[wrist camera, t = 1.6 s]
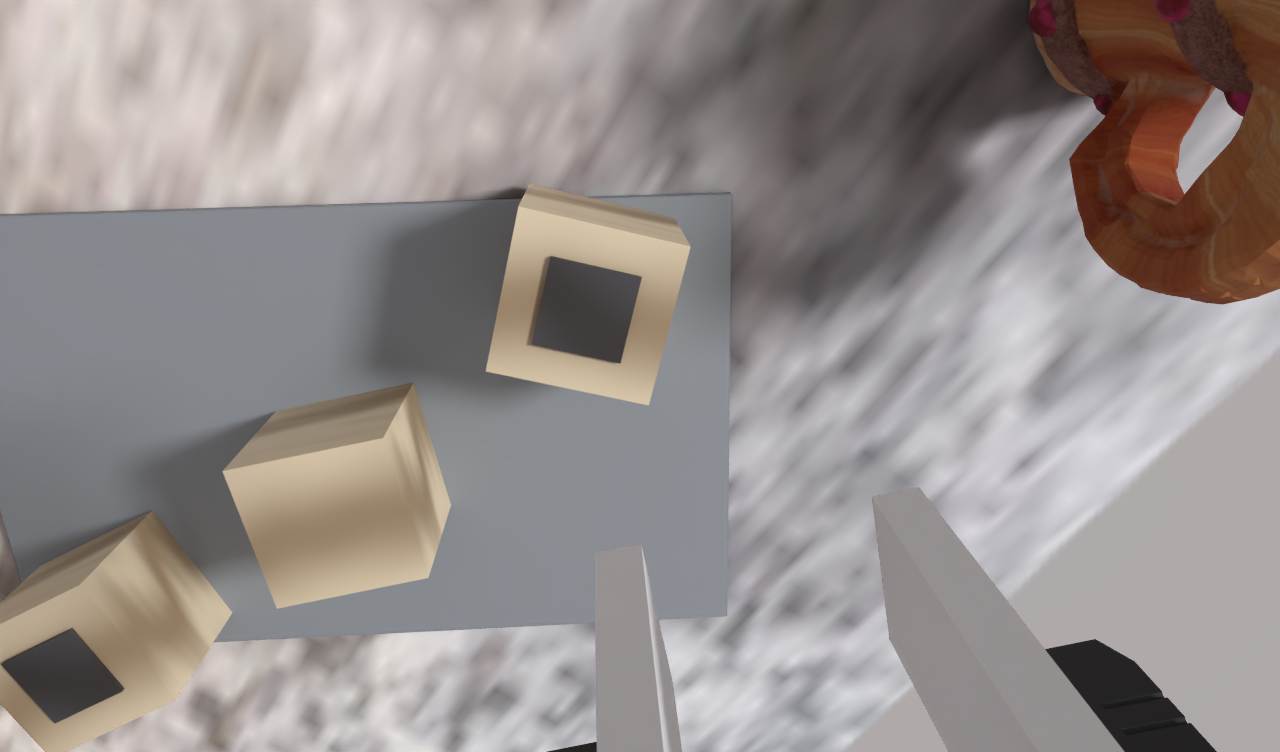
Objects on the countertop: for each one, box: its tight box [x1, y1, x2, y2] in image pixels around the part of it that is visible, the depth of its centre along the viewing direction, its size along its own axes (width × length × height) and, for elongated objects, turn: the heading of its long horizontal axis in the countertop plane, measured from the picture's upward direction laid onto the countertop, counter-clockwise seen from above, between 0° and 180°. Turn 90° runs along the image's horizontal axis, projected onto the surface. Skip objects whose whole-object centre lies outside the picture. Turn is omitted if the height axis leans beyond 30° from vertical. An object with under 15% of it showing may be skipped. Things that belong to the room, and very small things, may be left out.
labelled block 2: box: [486, 184, 691, 405], centre depth 34 cm, size 6×6×6 cm
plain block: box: [222, 382, 451, 609], centre depth 36 cm, size 6×6×6 cm
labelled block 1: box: [0, 510, 232, 752], centre depth 38 cm, size 6×6×6 cm
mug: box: [1027, 0, 1280, 304], centre depth 29 cm, size 15×8×15 cm, turn 167°
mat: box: [0, 192, 732, 642], centre depth 39 cm, size 20×32×1 cm, turn 91°
